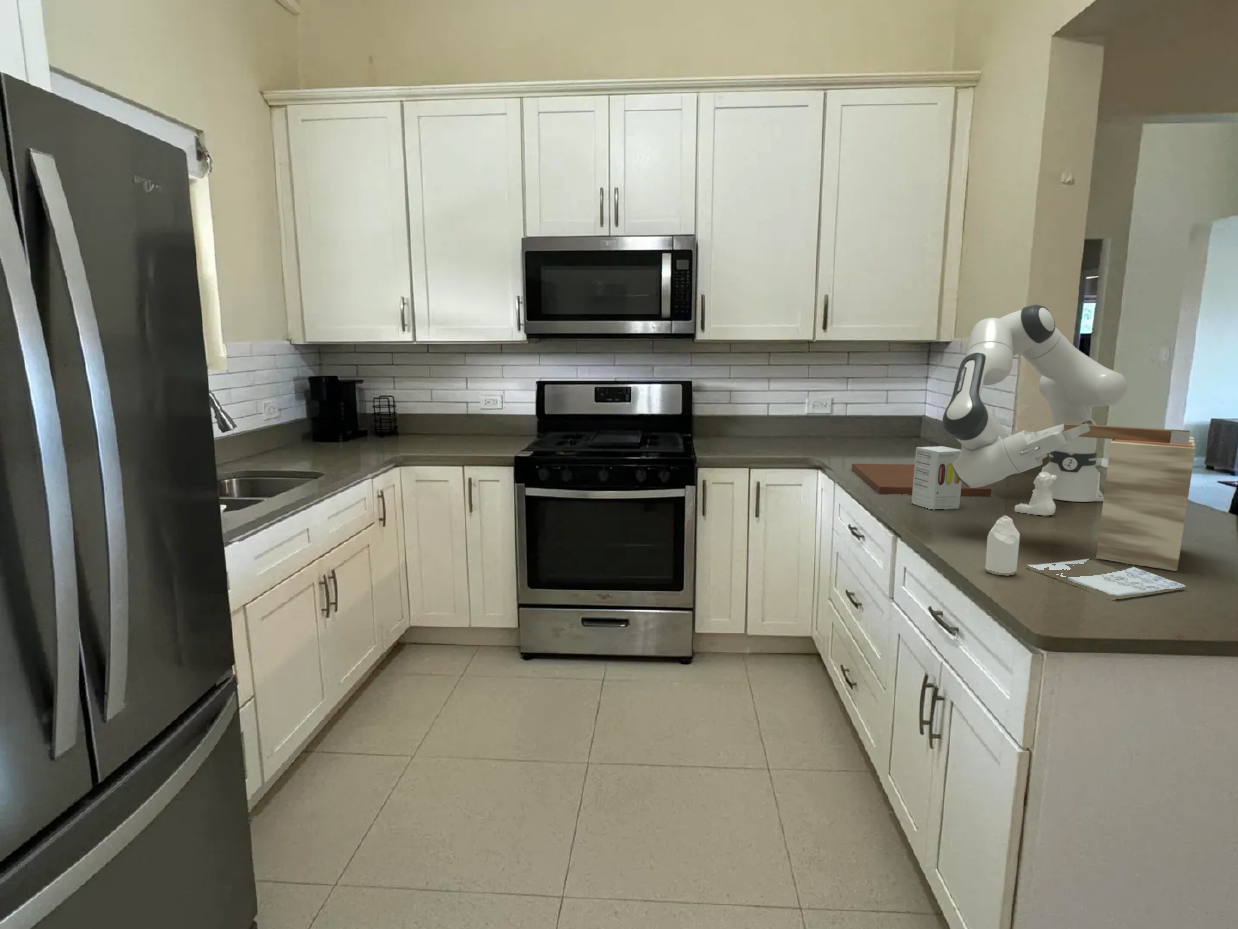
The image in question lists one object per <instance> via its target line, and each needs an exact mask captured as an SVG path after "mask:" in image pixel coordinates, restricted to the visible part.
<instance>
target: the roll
mask: <svg viewBox="0 0 1238 929" xmlns="http://www.w3.org/2000/svg"><path fill="white" fill-rule="evenodd" d="M1020 537H1021V535H1020V532H1019V531H1018V529H1017V528H1016V526H1015V524H1014V520H1013V518H1011V517H1009V516H1007V515H1002V516H1001V517H999V518H998V519H997V520H996V522H995V524H994V525H993V526H992V528H991V530H990V531H989V532H988V534H987V539H986V556H985V557H986V558H985V568H986V569H987V570H992V571H995V572H999V573H1012V572H1015V571H1016V572H1017V569H1018V568H1017V566H1018V558H1019V547H1020Z"/></svg>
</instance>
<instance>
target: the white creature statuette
mask: <svg viewBox="0 0 1238 929" xmlns="http://www.w3.org/2000/svg"><path fill="white" fill-rule="evenodd" d="M1056 478H1057V476H1056V475H1051V474H1049V473H1048V472H1042V471H1040V472H1039V473H1038V475H1037V476H1036V477H1035V478H1034V481H1032V482H1033V484H1034V489H1035V490H1034V491H1033V490H1032V491H1033V493H1032V494H1031V498H1030V500H1029V502H1028V504H1027V503H1022V502H1021V503H1019V504H1016V505H1014V508H1013V509H1014V512H1015V511H1016V512H1015V513H1017V512H1021V513H1020V514H1022V513H1027V514H1026V515H1029V514H1033V515H1032V516H1037V515H1051V516H1052V515H1054V513H1056V508H1057V505H1056V503H1055V502H1054V499H1053V498H1052V492H1051V490H1050V489H1048V487H1049V486H1051V484H1052V483H1053V480H1055V479H1056Z"/></svg>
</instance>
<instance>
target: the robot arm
mask: <svg viewBox="0 0 1238 929" xmlns="http://www.w3.org/2000/svg"><path fill="white" fill-rule="evenodd" d="M967 342H968V343H967V346H966V354H965V357H964V358H963V359H962V361H961V362H960V364H959V368H958V371H957V373H956V374H957V375H956V377H955V378H956V379H955V383H954V387H953V390H952V391H953V392H952V395H951V398H950V401H949V403H948V405H947V407H946V409H945V410H944V413H943V415H942V416H943V417H942V426H943V429H945V431H946V432H948V433H949V435H951V436H952V437H953V438H955V439H956V440H957V441H958V442H959V443H960V445H961V448H960V450H961V452H960V455H959V457H958V458H957V460H956V461H955V462H953V464H952V465H953V470H954V472H955V473H956V475H957V477H958V478H959V479H960V480H961V482H962V483H963V484H965V485H966V486H967V487H970V488H976V487H982V486H988V485H991V484H995V483H997V482H1000V481H1002V480H1004V479H1005V478H1007V477H1008V476H1011V475H1014V474H1021V473H1023V472H1026V471H1028V470H1031V469H1034V468H1037V467H1039V466H1042V465H1043V461H1044V459H1045V458H1047V457H1048V463H1047V464H1046V465H1044V466H1042V469H1041V472H1048V473H1049V474H1051V475H1056V476H1057V478H1056V479H1055V480H1053V483H1052V484H1051V486H1049V487H1048V489H1050V490H1051V492H1052V499H1053V500H1059V501H1065V502H1066V501H1067V502H1080V503H1082V502H1083V503H1085V502H1086V503H1087V502H1088V503H1089V502H1103V500H1104V493H1103V492H1101V490H1100V489H1101V484H1100V478H1101V472H1100V471H1099V470H1098V468H1096V465H1097V460H1098V452H1096V449H1097V444H1098V443H1097V442H1098V438H1091V437H1077V436H1079V435H1081V434H1084V433H1086V432H1089V431H1090V428H1089V426H1088V425H1098V423H1097V422H1096V421H1095V420H1093V418H1091V416H1090V413H1089V412H1088V407H1093V408H1097V407H1098V408H1100V407H1107V406H1114V405H1116V404H1118V403H1120V402H1121V401H1122V400H1123V398H1124V397H1125V395H1126V392H1127V389H1128V388H1127V387H1128V383H1127V380H1126V378H1125V376H1124V375H1123V374H1122V373H1120V372H1117V371H1115V370H1112V369H1110V368H1108V367H1105V366H1104V365H1102V364H1101V363H1099V362H1097V360H1094V359H1093V358H1091V357H1090V356H1088V355H1086V354H1085V353H1084V352H1082V351H1081V350H1079V349H1078V348H1077V347H1075V346H1074V344H1073V343H1071V341H1069V339H1068V338H1067V337H1066V336H1065V335H1064V334H1063V333H1062V332H1061V330H1060V329H1058V328H1057V327H1056V321H1055V317H1054V316H1053V315H1052V312H1051V311H1050V310H1049V309H1048V307H1046V306H1043V305H1041V304H1033V305H1027V306H1025V307H1023V308H1022V309H1020V310H1016V311H1013V312H1011V313H1009V314H1006V315H1004V316H1001V317H1000V318H998V317H987V318H983V319H981V320H980V321H978V322H977V323H976V324H974V325H973V328H972V329H971V332H970V335H969V338H968V341H967ZM1019 354H1020V355H1021V356H1022V357H1023V358H1024V359H1025V360H1026V361H1027V362H1028V363H1029V365H1030V366H1032V367H1033V369H1034V370H1036V372H1038V374H1040V375H1041V377H1040V380H1039V383H1038V389H1039V392H1040V394H1041V395H1042V397H1044V398H1045V400H1046V402H1047V404H1048V405H1049V409H1050V411H1051V415H1052V422H1053V426H1052V427H1049V428H1046V429H1042V430H1039V431H1027V430H1024V429H1023V430H1021V431H1019V432H1017V433H1014V434H1012V435H1008V433H1007V430H1006V429H1005V428H1004V427H1003V425H1002V424H1001V423H1000V422H999V421H998V420H997V419H996V418H995V417H994V416H993V414H992V413H991V412H990V411H989V410H988V408H987V407H986V406H985V404H984V403H983V400H982V396H981V395H982V389H983V386H991V385H997V384H998V383H1000V382H1002V381H1004V380H1005V379H1006V378H1008V376H1009V375H1010V373H1011V371H1012V368H1013V367H1012V366H1013V362H1014V361H1013V360H1014V356H1016V355H1019ZM1065 423H1072V424H1083V425H1080V426H1078V427H1075V428H1072V429H1070V430H1067V431H1064V430H1065V429H1064V424H1065ZM1063 431H1064V432H1063ZM1034 490H1035V488H1034V489H1032V491H1031V492H1033V491H1034Z"/></svg>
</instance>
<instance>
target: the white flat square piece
mask: <svg viewBox="0 0 1238 929" xmlns="http://www.w3.org/2000/svg"><path fill="white" fill-rule="evenodd" d="M1089 559H1090V558H1085V559H1084V558H1083V559H1078V560H1076V559H1075V560H1069V561H1068V560H1067V561H1060V562H1051V563H1039V564H1027V565H1028V566H1030V567H1033V568H1036V569H1038V570H1044V568H1047V567H1049V570H1062V569H1064V570H1066V569H1067V570H1070V569H1071V568H1070V567H1069V566H1067V565H1065V564H1078V563H1079V564H1084V562H1086V561H1087V560H1089ZM1052 564H1056V565H1055V566H1054V565H1052ZM1073 566H1074V565H1073ZM1121 570H1122V571H1117V572H1112V573H1107V574H1101V575H1093V576H1080V577H1068V580H1070V581H1072V582H1074V583H1078V584H1081V585H1084V586H1087V587H1090V588H1093V589H1098V590H1100V591H1103V592H1105V593H1107V594H1109V595H1115V596H1123V595H1134V594H1142V593H1149V592H1155V591H1160V590H1164V589H1176V588H1181V589H1183V588H1182V587H1186V585H1185V584H1183V583H1180V582H1178V581H1174V580H1170V579H1167V578H1166V577H1164V576H1163V577H1162V576H1160V575H1157V574H1154V573H1152V572H1148V571H1147V570H1143V569H1140V568H1137V567H1136V566H1132V567H1129V568H1128V567H1127V568H1126V569H1121ZM1062 574H1063V573H1061V575H1060V576H1061V577H1066V576H1063V575H1062ZM1056 575H1059V574H1056ZM1186 588H1187V587H1186Z"/></svg>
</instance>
